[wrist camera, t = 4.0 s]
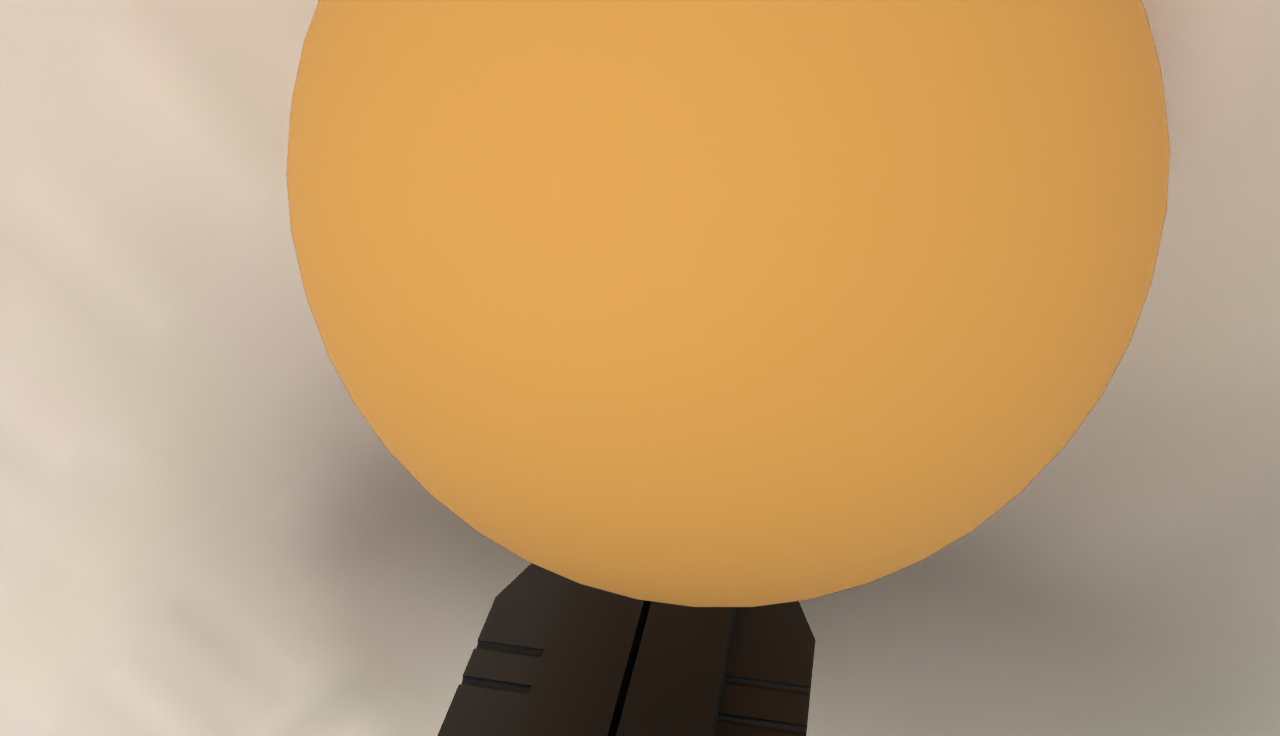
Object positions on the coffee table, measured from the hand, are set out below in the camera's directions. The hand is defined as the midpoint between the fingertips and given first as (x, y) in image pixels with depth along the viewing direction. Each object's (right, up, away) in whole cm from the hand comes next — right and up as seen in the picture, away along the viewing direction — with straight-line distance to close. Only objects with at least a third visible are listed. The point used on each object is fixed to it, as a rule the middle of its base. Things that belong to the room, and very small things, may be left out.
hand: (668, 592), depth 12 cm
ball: (0, +3, -4) cm, 5 cm away
